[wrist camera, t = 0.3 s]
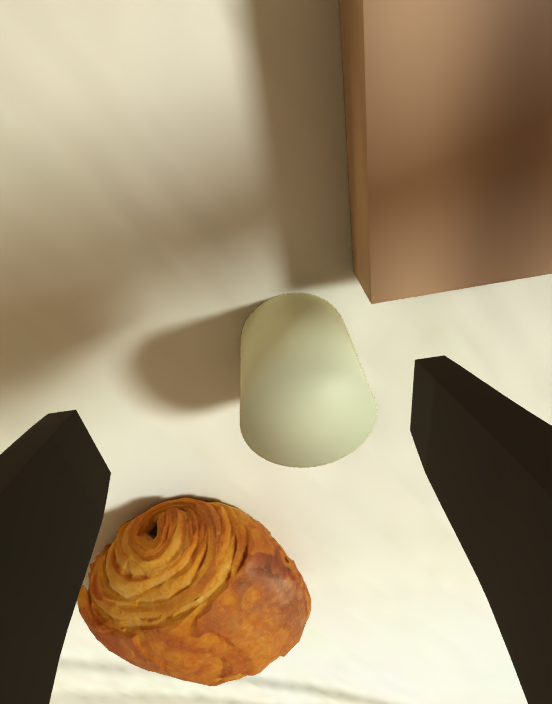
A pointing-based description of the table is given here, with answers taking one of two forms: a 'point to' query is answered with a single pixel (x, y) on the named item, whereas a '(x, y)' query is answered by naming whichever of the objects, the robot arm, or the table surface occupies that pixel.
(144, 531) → the croissant
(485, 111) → the walnut base
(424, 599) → the table surface
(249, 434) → the sage cylinder
